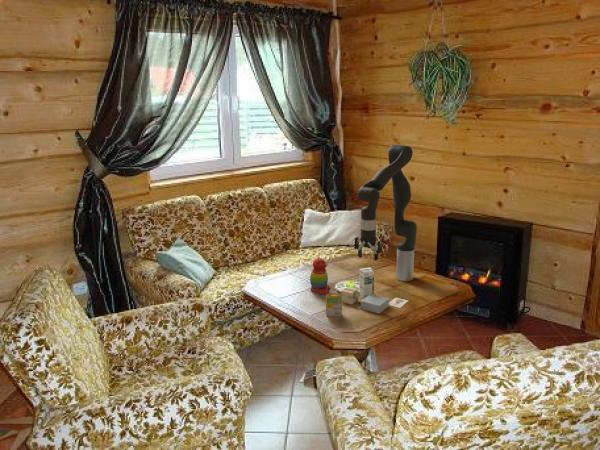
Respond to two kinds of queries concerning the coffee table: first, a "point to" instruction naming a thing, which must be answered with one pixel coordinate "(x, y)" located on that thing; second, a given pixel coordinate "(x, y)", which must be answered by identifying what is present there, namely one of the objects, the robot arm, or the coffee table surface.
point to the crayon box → (334, 304)
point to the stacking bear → (319, 277)
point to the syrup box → (366, 282)
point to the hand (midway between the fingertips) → (368, 258)
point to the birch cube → (349, 295)
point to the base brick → (374, 303)
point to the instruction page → (398, 302)
